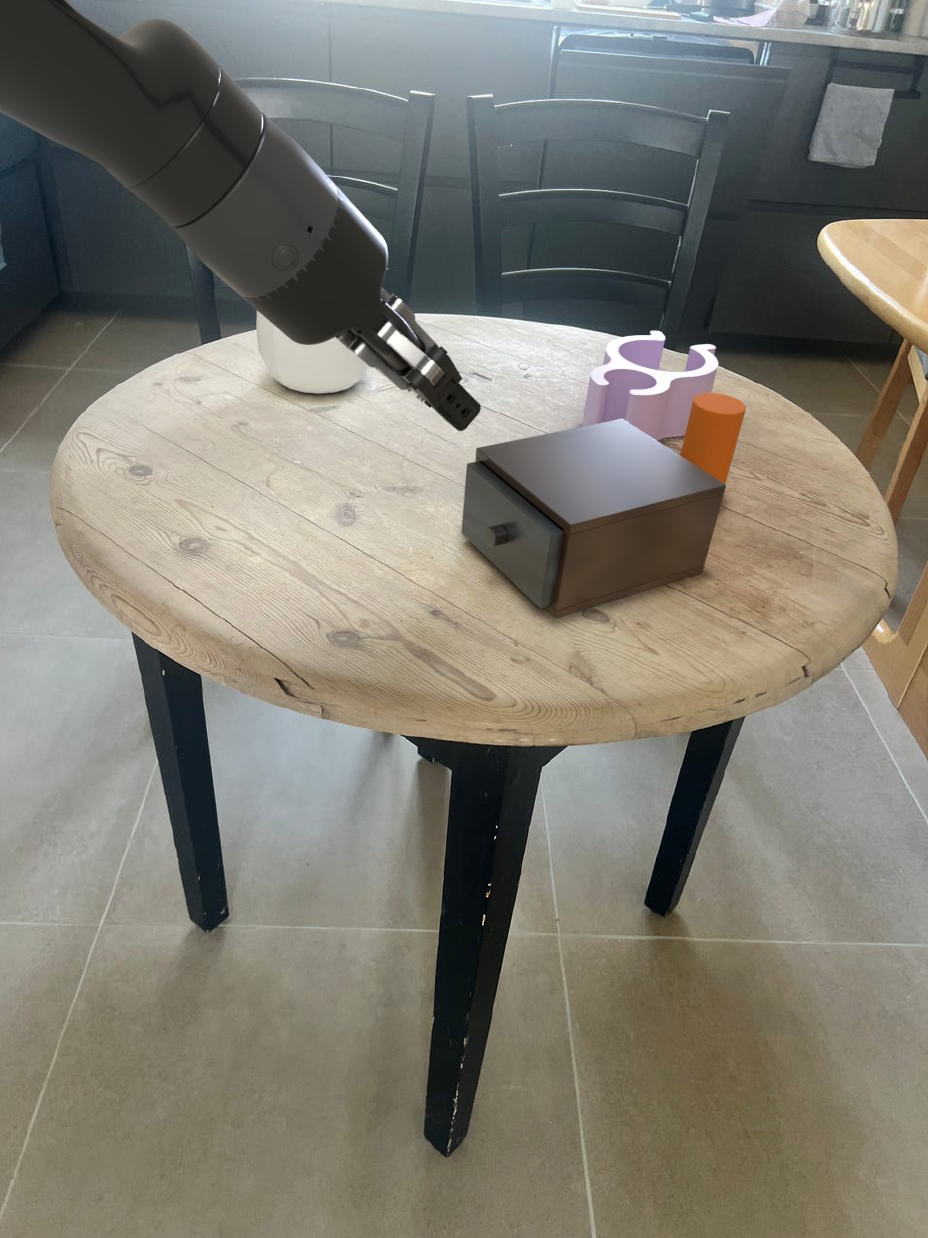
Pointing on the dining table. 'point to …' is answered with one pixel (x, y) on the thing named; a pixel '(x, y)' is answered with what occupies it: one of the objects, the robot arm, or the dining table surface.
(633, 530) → the cabinet
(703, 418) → the roller
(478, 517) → the drawer
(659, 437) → the clip
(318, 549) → the dining table surface
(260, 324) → the white vase
